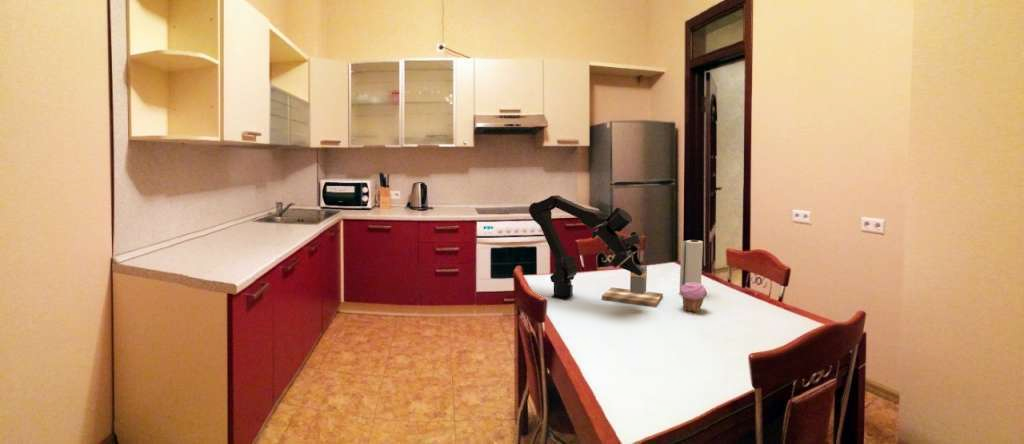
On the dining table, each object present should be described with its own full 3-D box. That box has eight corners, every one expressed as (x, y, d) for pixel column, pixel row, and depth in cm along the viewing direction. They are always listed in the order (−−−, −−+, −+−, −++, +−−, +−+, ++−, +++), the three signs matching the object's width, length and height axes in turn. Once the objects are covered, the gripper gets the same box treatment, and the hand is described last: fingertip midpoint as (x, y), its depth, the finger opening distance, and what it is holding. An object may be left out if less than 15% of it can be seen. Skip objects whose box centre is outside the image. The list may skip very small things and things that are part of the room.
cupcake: (674, 310, 160) (676, 282, 159) (685, 304, 166) (686, 277, 165) (700, 316, 154) (701, 287, 153) (710, 309, 160) (711, 282, 159)
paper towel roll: (702, 294, 179) (704, 240, 176) (698, 298, 174) (701, 242, 171) (682, 291, 183) (684, 238, 180) (679, 295, 178) (681, 241, 175)
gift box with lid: (629, 292, 159) (630, 267, 157) (633, 288, 163) (633, 264, 161) (643, 294, 156) (644, 268, 155) (646, 290, 160) (647, 265, 159)
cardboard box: (601, 299, 173) (601, 295, 173) (611, 290, 184) (611, 287, 184) (655, 307, 164) (656, 303, 163) (662, 297, 175) (662, 293, 175)
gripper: (621, 228, 150) (654, 264, 146) (634, 221, 166) (665, 253, 163) (597, 249, 155) (629, 285, 151) (613, 241, 171) (642, 272, 167)
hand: (642, 273), depth 158 cm, fingers closed on gift box with lid, 5 cm apart
